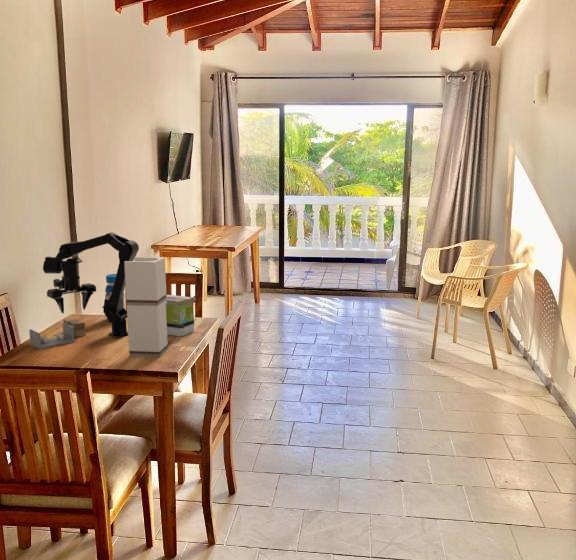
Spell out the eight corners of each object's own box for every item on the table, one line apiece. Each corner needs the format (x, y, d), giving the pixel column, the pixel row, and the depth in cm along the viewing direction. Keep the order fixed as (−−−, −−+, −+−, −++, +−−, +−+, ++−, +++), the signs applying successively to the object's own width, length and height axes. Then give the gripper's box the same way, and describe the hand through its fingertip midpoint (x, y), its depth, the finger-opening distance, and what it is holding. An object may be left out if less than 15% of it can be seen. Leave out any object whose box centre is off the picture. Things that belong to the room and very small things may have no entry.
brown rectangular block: (85, 335, 257) (84, 322, 256) (76, 337, 254) (75, 324, 253) (73, 330, 265) (72, 317, 264) (64, 332, 262) (63, 319, 261)
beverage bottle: (128, 316, 286) (126, 273, 282) (121, 321, 277) (119, 277, 274) (111, 316, 287) (108, 273, 283) (103, 321, 278) (100, 276, 275)
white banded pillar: (168, 348, 238) (164, 257, 232) (159, 357, 228) (155, 262, 221) (139, 347, 240) (135, 256, 233) (129, 356, 229) (124, 261, 223)
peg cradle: (65, 337, 254) (64, 322, 253) (75, 341, 248) (74, 326, 246) (29, 344, 244) (28, 329, 243) (39, 349, 238) (38, 334, 237)
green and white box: (195, 331, 262) (194, 296, 259) (180, 337, 253) (179, 301, 250) (166, 327, 269) (164, 293, 266) (151, 332, 260) (149, 297, 257)
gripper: (83, 268, 267) (85, 304, 270) (39, 274, 254) (42, 311, 257) (95, 271, 259) (98, 308, 262) (51, 277, 246) (54, 316, 249)
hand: (73, 311), depth 257 cm, fingers open, 9 cm apart
